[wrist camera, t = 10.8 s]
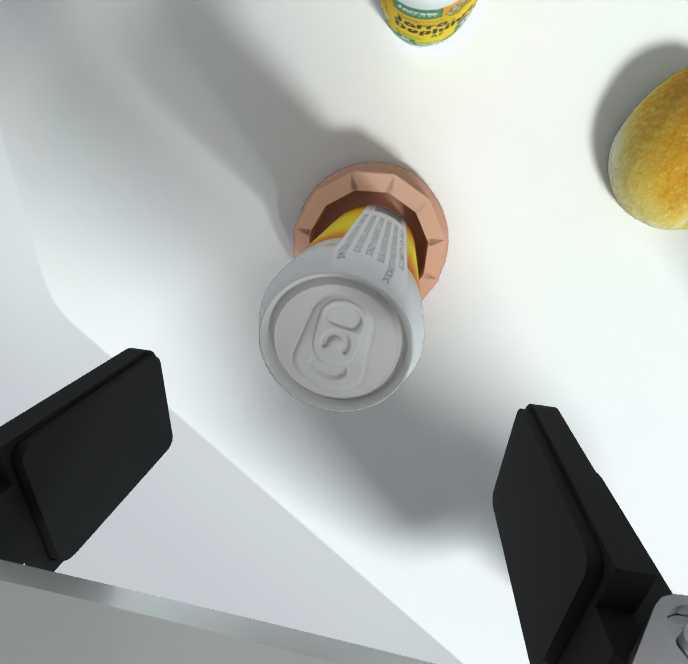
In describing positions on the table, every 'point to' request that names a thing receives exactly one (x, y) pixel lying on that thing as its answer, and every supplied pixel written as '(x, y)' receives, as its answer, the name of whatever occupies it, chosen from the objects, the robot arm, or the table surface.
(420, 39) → the supplement bottle
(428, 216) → the jar base
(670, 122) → the bread roll
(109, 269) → the table surface
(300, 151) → the table surface
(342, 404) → the beer can
